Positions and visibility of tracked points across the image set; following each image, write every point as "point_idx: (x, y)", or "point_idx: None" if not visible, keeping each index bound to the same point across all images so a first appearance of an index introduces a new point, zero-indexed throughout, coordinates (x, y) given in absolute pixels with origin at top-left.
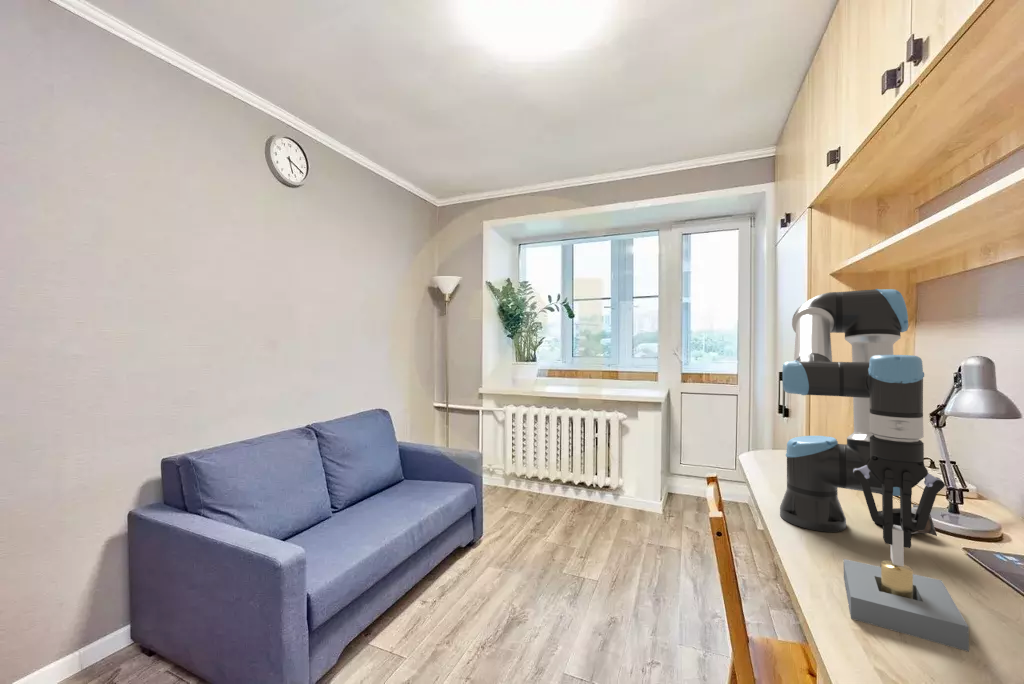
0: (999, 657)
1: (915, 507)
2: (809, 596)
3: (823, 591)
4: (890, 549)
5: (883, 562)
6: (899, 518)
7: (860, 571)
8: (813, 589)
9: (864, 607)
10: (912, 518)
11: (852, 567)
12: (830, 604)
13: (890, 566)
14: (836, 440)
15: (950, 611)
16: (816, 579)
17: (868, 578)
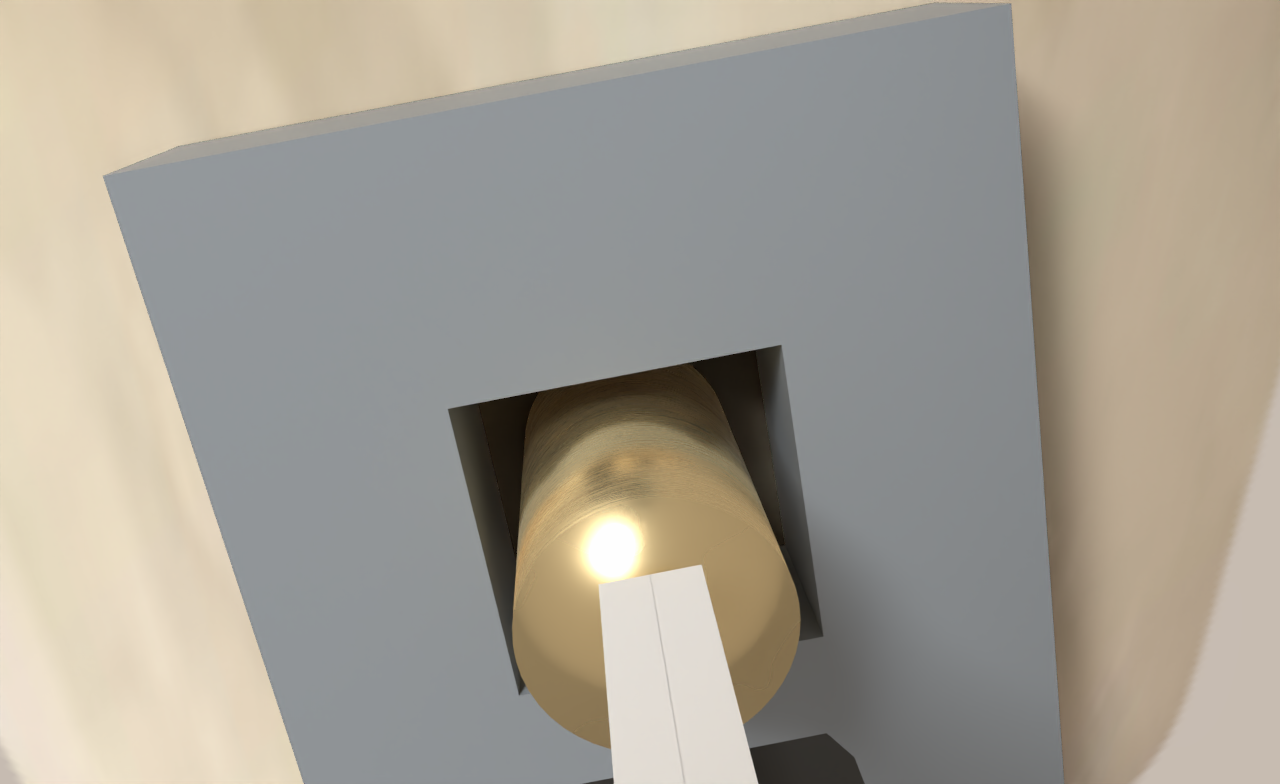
0: (1141, 631)
1: None
2: (73, 718)
3: (126, 561)
4: (603, 643)
5: (532, 615)
6: None
7: (322, 399)
8: (55, 585)
9: None
10: None
11: (238, 358)
12: (227, 723)
13: (603, 675)
14: None
15: (990, 651)
16: (6, 379)
17: (411, 509)
